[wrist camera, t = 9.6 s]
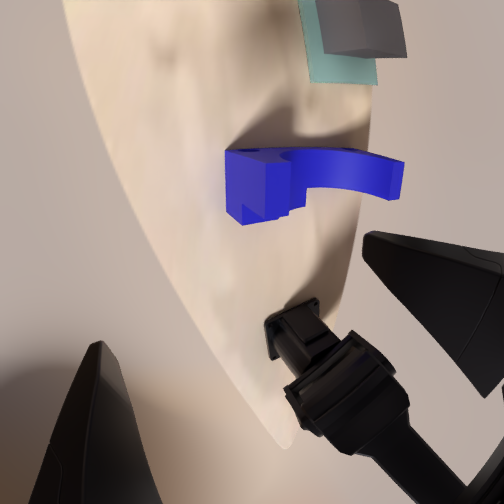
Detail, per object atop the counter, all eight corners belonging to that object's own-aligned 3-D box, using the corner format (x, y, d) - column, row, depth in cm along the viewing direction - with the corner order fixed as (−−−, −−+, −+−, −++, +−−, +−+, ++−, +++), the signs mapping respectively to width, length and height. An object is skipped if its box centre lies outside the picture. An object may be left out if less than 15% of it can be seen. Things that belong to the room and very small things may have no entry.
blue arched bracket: (225, 211, 20) (263, 244, 15) (224, 150, 18) (265, 163, 13) (346, 194, 25) (395, 216, 20) (351, 147, 22) (404, 162, 18)
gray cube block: (366, 58, 18) (407, 57, 14) (324, 53, 16) (366, 48, 13) (358, 11, 15) (397, 4, 12) (314, 0, 14) (355, -13, 10)
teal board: (373, 85, 20) (377, 85, 20) (310, 82, 18) (314, 82, 17) (359, -6, 15) (363, -7, 14) (292, -23, 12) (295, -25, 12)
